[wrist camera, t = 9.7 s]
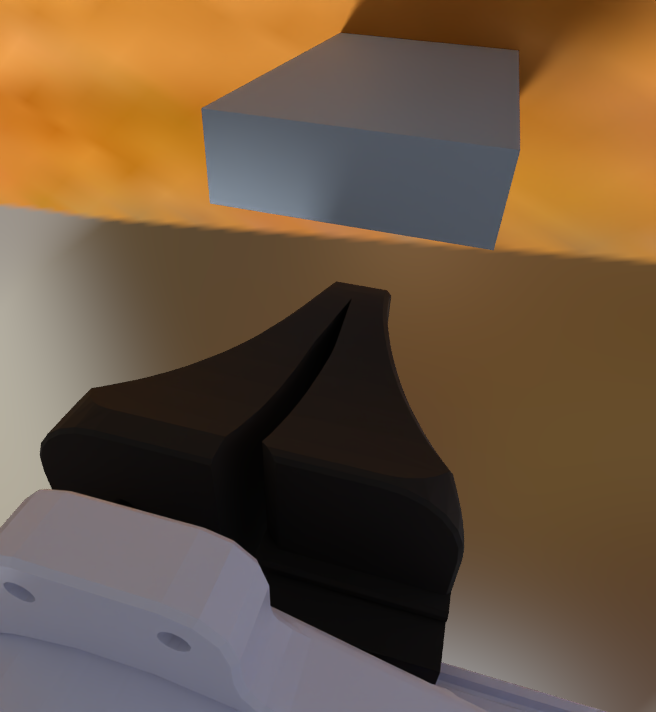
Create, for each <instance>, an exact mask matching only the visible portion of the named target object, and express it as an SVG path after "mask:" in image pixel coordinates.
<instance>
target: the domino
mask: <svg viewBox="0 0 656 712" xmlns="http://www.w3.org/2000/svg"><path fill="white" fill-rule="evenodd" d="M202 119H203V130H204V141H205V152H206V163H207V175H208V186H209V197H210V203H211V204H217V205H223V206H229V207H235V208H241V209H247V210H253V211H259V212H266V213H272V214H278V215H284V216H290V217H296V218H302V219H308V220H314V221H320V222H326V223H332V224H338V225H344V226H350V227H356V228H362V229H369V230H375V231H381V232H387V233H393V234H399V235H405V236H411V237H417V238H423V239H429V240H435V241H441V242H447V243H453V244H459V245H465V246H471V247H478V248H484V249H490V250H494V247H495V243H496V239H497V235H498V231H499V228H500V224H501V220H502V216H503V213H504V209H505V205H506V201H507V197H508V194H509V190H510V186H511V182H512V179H513V175H514V171H515V167H516V163H517V160H518V156H519V152H520V109H519V50H509V49H499V48H489V47H479V46H469V45H459V44H449V43H439V42H429V41H418V40H408V39H398V38H388V37H378V36H368V35H358V34H348V33H339V34H337V35H335V36H334V37H332V38H330V39H328V40H326V41H324V42H323V43H321V44H319V45H317V46H315V47H313V48H312V49H310V50H308V51H306V52H304V53H302V54H301V55H299V56H297V57H295V58H293V59H291V60H289V61H288V62H286V63H284V64H282V65H280V66H278V67H277V68H275V69H273V70H271V71H269V72H267V73H266V74H264V75H262V76H260V77H258V78H256V79H255V80H253V81H251V82H249V83H247V84H245V85H244V86H242V87H240V88H238V89H236V90H234V91H232V92H231V93H229V94H227V95H225V96H223V97H221V98H220V99H218V100H216V101H214V102H212V103H210V104H209V105H207V106H205V107H203V108H202Z"/></svg>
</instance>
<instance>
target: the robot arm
mask: <svg viewBox="0 0 656 712" xmlns="http://www.w3.org/2000/svg"><path fill="white" fill-rule="evenodd" d="M390 301H391V295H390V294H389V292H388V291H387V290H382V289H375V288H370V287H364V286H359V285H353V284H347V283H341V282H335V283H334V284H332V285H331V286H330V287H328V288H327V289H325V290H324V291H323V292H321V293H320V294H319V295H317V296H316V297H315V298H313V299H312V300H311V301H309V302H308V303H307V304H305V305H304V306H303V307H301V308H300V309H298V310H297V311H295V312H294V313H292V314H291V315H290V316H288V317H287V318H285V319H284V320H282V321H281V322H279V323H277V324H276V325H274V326H273V327H271V328H269V329H268V330H266V331H264V332H263V333H261V334H259V335H258V336H256V337H254V338H252V339H250V340H248V341H246V342H244V343H242V344H240V345H238V346H236V347H234V348H232V349H230V350H227V351H225V352H223V353H220V354H218V355H215V356H212V357H210V358H207V359H205V360H202V361H199V362H197V363H194V364H191V365H188V366H186V367H182V368H179V369H176V370H172V371H169V372H166V373H162V374H158V375H154V376H151V377H147V378H142V379H138V380H133V381H128V382H123V383H118V384H113V385H107V386H103V387H96V388H91V389H90V390H89V391H88V392H87V393H86V394H85V395H84V396H83V397H82V398H81V399H80V400H79V401H78V402H77V403H76V405H75V406H74V407H73V408H72V409H71V410H70V411H69V412H68V413H67V414H66V415H65V416H64V417H63V418H62V419H61V421H60V422H59V423H58V424H57V425H56V426H55V427H54V428H53V429H52V430H51V431H50V432H49V433H48V434H47V436H46V437H45V438H44V440H43V441H42V442H41V448H40V458H41V462H42V465H43V469H44V472H45V474H46V476H47V478H48V481H49V483H50V485H51V487H52V489H44V490H38V491H36V492H35V493H33V494H32V495H31V496H29V497H27V498H26V499H25V500H24V501H23V502H22V503H21V505H20V506H19V507H18V508H17V509H16V510H15V511H14V513H13V514H12V515H11V516H10V517H9V518H8V519H7V521H6V522H5V523H4V524H3V525H2V526H1V527H0V712H606V711H603V710H600V709H596V708H593V707H590V706H586V705H583V704H580V703H576V702H573V701H570V700H566V699H563V698H559V697H556V696H552V695H549V694H546V693H543V692H539V691H536V690H532V689H529V688H526V687H523V686H519V685H516V684H513V683H509V682H506V681H503V680H499V679H496V678H493V677H489V676H485V675H482V674H479V673H476V672H472V671H469V670H466V669H462V668H459V667H456V666H452V665H449V664H446V663H442V662H441V659H442V650H443V641H444V632H445V622H446V621H447V619H448V613H449V604H450V595H451V590H452V587H453V585H454V582H455V579H456V575H457V573H458V570H459V567H460V564H461V561H462V557H463V552H464V530H463V520H462V514H461V508H460V503H459V498H458V494H457V489H456V485H455V481H454V477H453V474H452V473H451V472H450V470H449V469H448V468H447V466H446V465H445V464H444V462H442V460H441V458H440V457H439V456H438V454H437V453H436V451H435V450H434V448H433V447H432V445H431V444H430V442H429V440H428V439H427V437H426V436H425V434H424V432H423V431H422V429H421V427H420V425H419V423H418V421H417V419H416V417H415V415H414V414H413V412H412V410H411V408H410V406H409V403H408V401H407V399H406V396H405V394H404V391H403V389H402V386H401V383H400V380H399V377H398V374H397V371H396V367H395V364H394V360H393V356H392V351H391V346H390V340H389V332H388V317H389V309H390Z"/></svg>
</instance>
